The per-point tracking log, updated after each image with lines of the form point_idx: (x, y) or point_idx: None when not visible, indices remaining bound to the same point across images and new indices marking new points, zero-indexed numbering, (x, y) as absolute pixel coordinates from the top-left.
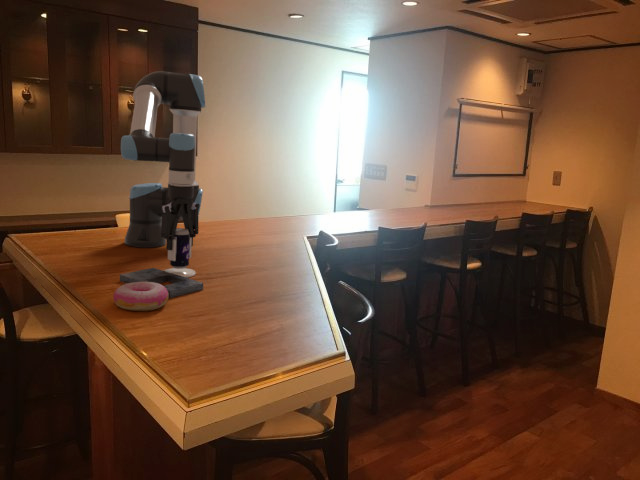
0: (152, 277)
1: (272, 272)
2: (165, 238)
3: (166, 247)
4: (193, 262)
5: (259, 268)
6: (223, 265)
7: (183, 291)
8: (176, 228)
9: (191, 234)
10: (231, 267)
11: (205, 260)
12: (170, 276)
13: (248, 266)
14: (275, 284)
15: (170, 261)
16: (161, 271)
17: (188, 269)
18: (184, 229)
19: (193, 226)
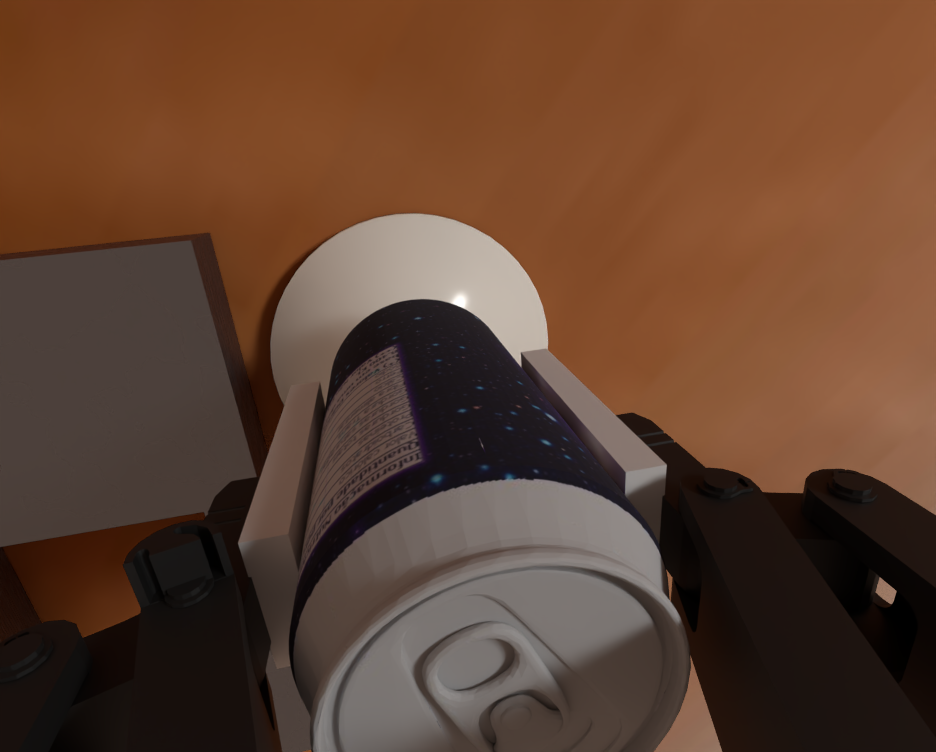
0: (37, 525)
1: (877, 593)
2: (129, 622)
3: (211, 504)
4: (762, 85)
5: (912, 500)
6: (839, 322)
7: None
8: (537, 569)
9: (689, 617)
10: (828, 397)
11: (886, 90)
12: None
13: (916, 432)
14: (697, 747)
15: (332, 371)
16: (201, 404)
17: (526, 331)
18: (644, 662)
19: (906, 672)
